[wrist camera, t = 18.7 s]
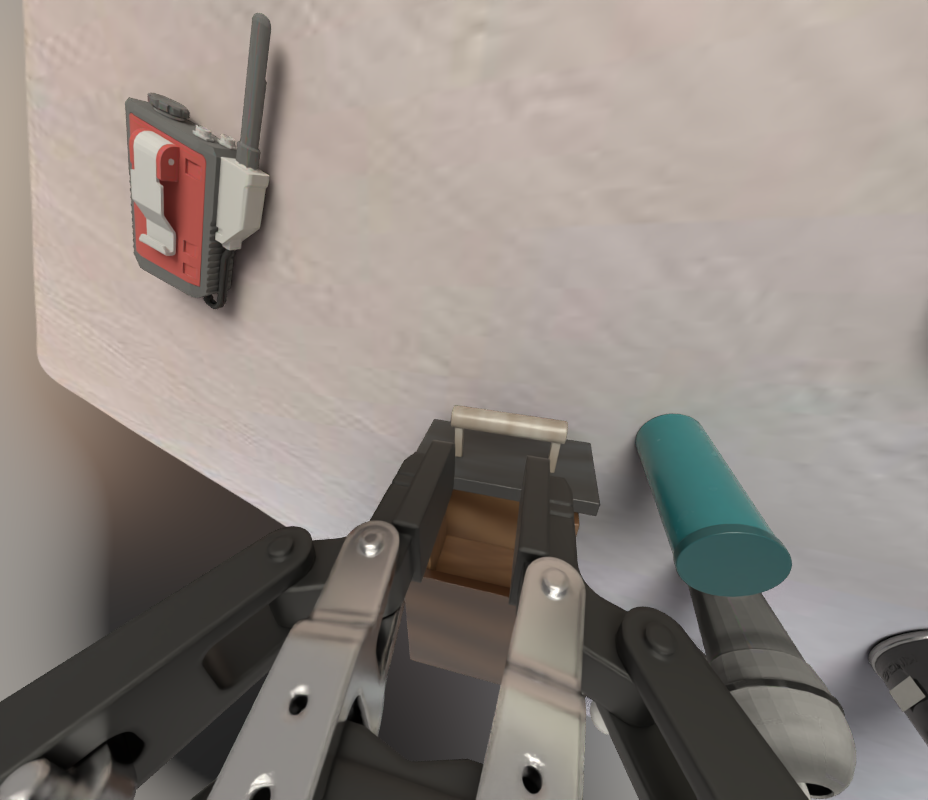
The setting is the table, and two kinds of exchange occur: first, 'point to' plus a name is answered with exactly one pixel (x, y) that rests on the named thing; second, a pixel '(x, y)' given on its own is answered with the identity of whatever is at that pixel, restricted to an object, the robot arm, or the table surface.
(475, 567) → the drawer
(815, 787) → the beverage cup
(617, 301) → the table surface
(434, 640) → the cabinet
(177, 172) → the walkie-talkie
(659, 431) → the tin
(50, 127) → the table surface
